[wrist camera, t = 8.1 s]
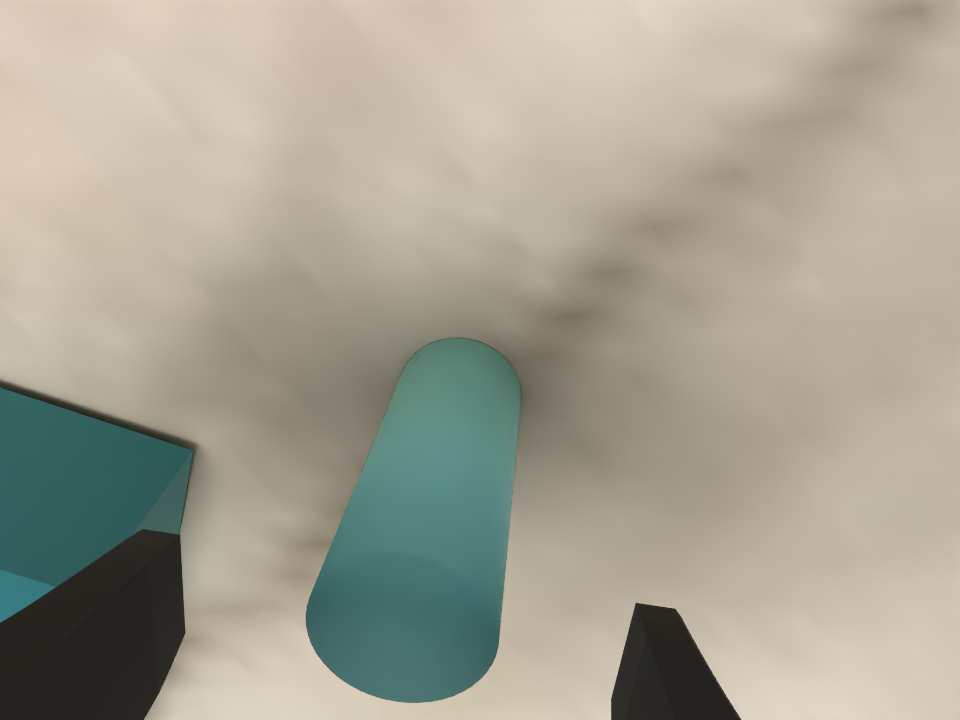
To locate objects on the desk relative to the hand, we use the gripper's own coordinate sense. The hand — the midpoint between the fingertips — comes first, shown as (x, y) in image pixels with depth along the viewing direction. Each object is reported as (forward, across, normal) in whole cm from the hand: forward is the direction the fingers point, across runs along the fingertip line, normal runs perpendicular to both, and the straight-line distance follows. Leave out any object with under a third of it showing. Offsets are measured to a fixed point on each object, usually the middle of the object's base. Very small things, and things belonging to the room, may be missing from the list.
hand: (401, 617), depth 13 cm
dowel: (+8, 0, 0) cm, 8 cm away
